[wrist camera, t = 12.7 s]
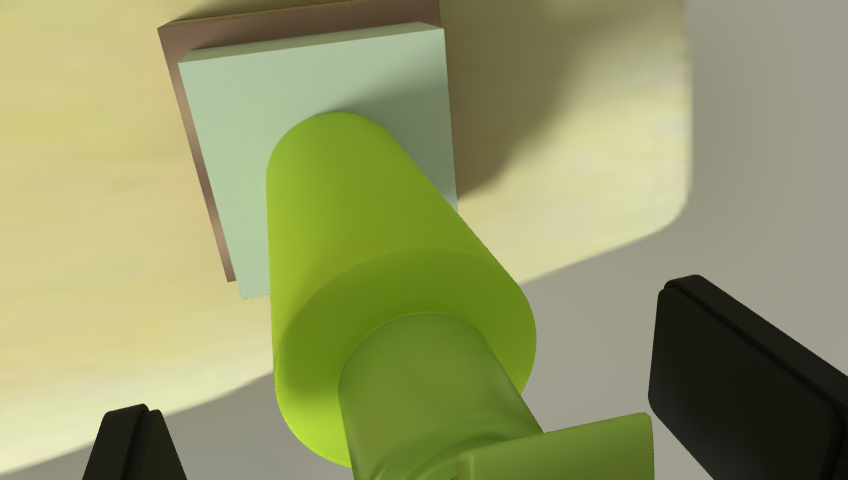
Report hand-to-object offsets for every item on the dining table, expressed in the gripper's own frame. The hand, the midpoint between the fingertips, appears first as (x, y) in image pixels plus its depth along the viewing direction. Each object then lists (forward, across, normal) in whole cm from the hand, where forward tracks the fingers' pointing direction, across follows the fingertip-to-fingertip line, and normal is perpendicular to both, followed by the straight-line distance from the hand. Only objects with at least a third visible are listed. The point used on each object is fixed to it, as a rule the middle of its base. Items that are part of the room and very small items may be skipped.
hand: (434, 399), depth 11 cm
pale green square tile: (+19, 0, 0) cm, 19 cm away
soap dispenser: (+15, 0, 0) cm, 15 cm away
